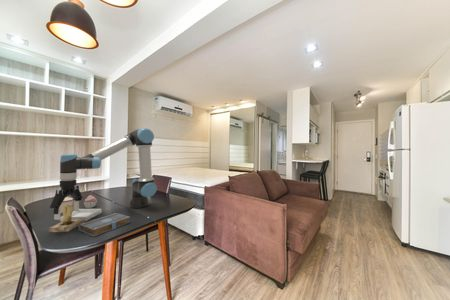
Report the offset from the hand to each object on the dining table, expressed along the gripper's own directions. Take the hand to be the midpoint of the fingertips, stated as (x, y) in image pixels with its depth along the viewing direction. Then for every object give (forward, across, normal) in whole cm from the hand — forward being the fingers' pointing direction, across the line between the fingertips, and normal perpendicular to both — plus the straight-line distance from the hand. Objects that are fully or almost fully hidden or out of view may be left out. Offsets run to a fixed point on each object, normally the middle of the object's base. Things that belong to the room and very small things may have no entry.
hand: (67, 215), depth 103 cm
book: (+8, -1, +22) cm, 23 cm away
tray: (+7, -17, -3) cm, 18 cm away
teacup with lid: (+8, -29, -25) cm, 39 cm away
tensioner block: (+7, 0, 0) cm, 7 cm away
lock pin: (+8, 0, 0) cm, 8 cm away
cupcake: (+8, -38, -11) cm, 40 cm away
